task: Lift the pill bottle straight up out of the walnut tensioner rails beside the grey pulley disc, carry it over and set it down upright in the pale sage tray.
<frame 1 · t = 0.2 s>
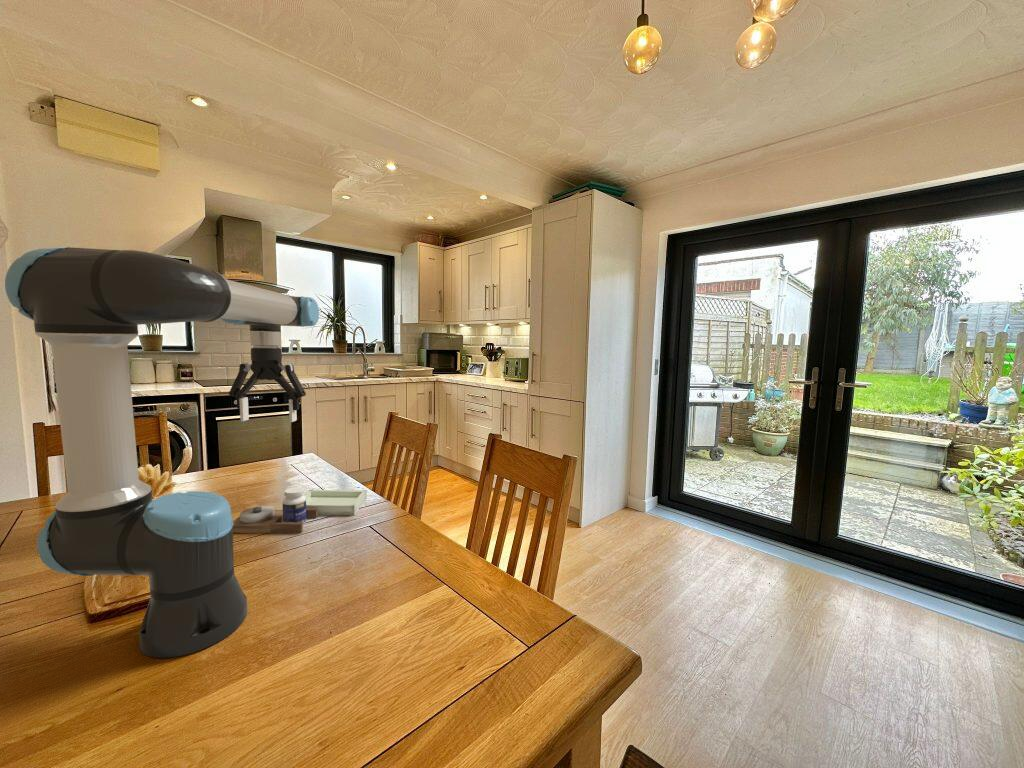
hand: (269, 420, 117), 27 cm above the table, fingers open, 13 cm apart
pill bottle: (295, 525, 112), on the table
tensioner: (295, 524, 112), on the table
tray: (330, 506, 124), on the table
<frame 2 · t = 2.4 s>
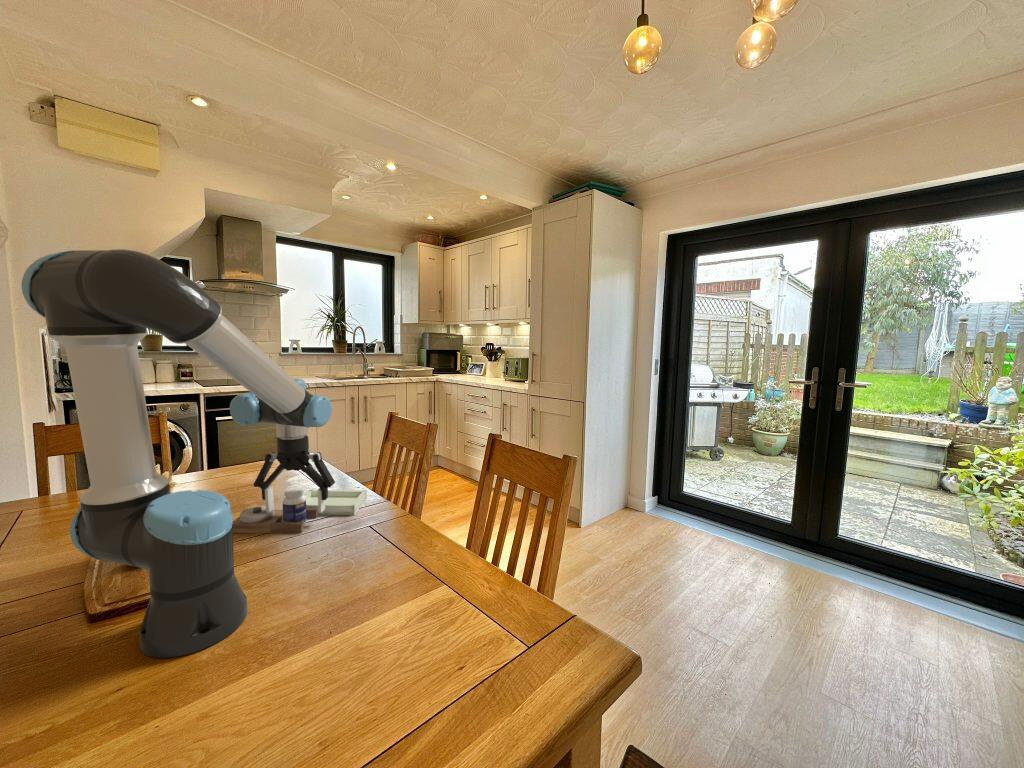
hand: (296, 511, 112), 4 cm above the table, fingers open, 13 cm apart
nothing on the table moved.
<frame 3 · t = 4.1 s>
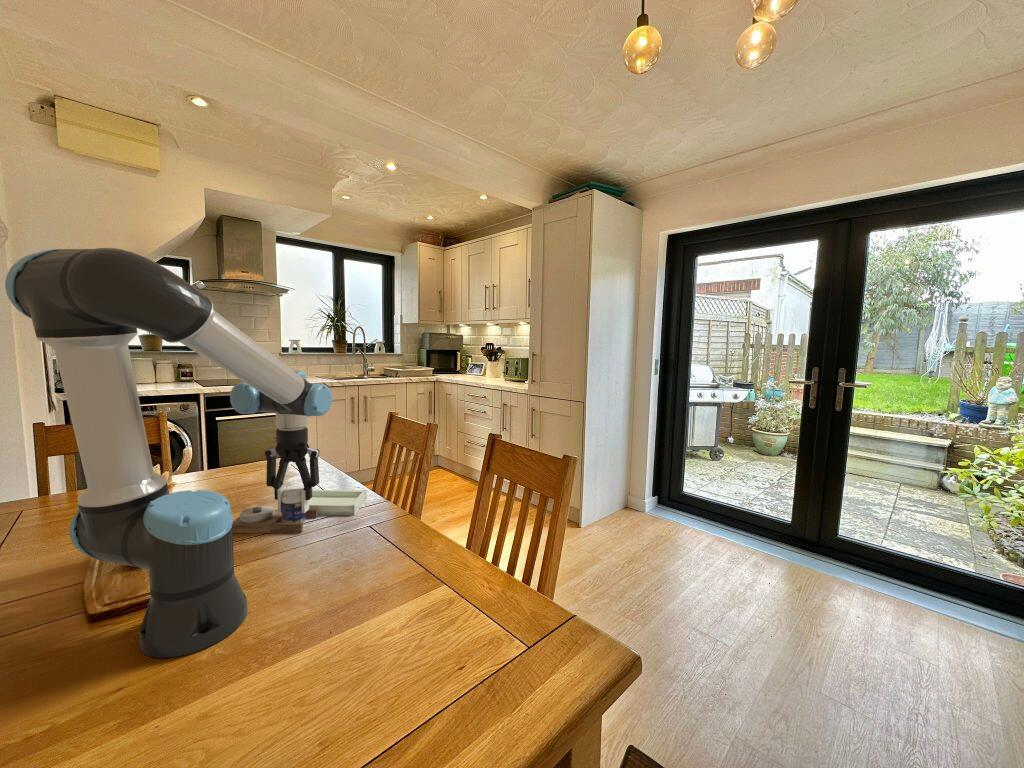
hand: (293, 510, 111), 4 cm above the table, fingers closed on pill bottle, 6 cm apart
pill bottle: (293, 524, 112), on the table, touching gripper
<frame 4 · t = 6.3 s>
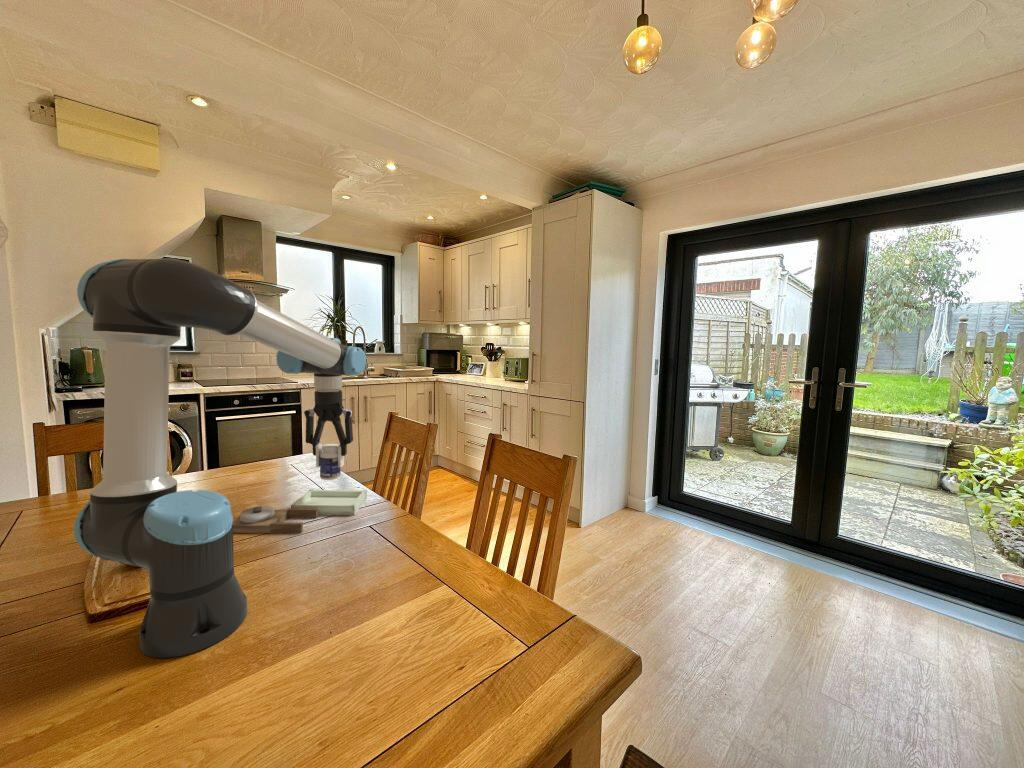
hand: (330, 465, 123), 13 cm above the table, fingers closed on pill bottle, 6 cm apart
pill bottle: (330, 478, 124), point 9 cm above the table, touching gripper
when the fingers open (4 cm above the table, at t = 8.3 s): pill bottle stays where it is, resting on tray.
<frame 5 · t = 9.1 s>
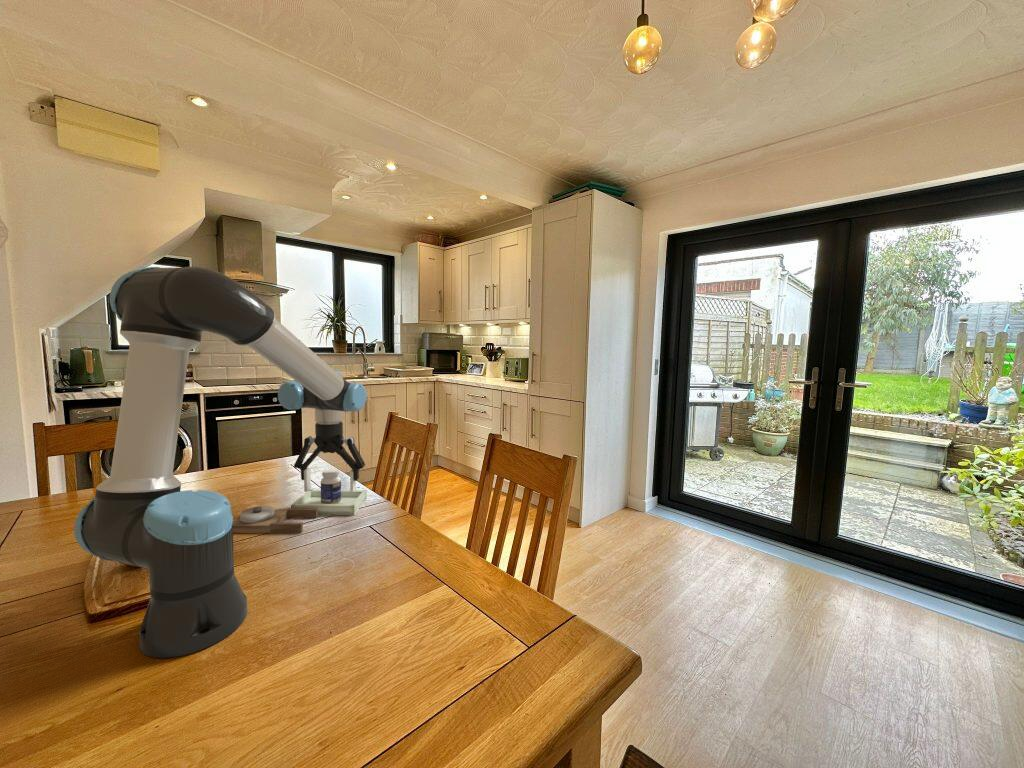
hand: (330, 490, 124), 5 cm above the table, fingers open, 13 cm apart
pill bottle: (331, 503, 125), point 1 cm above the table, touching tray
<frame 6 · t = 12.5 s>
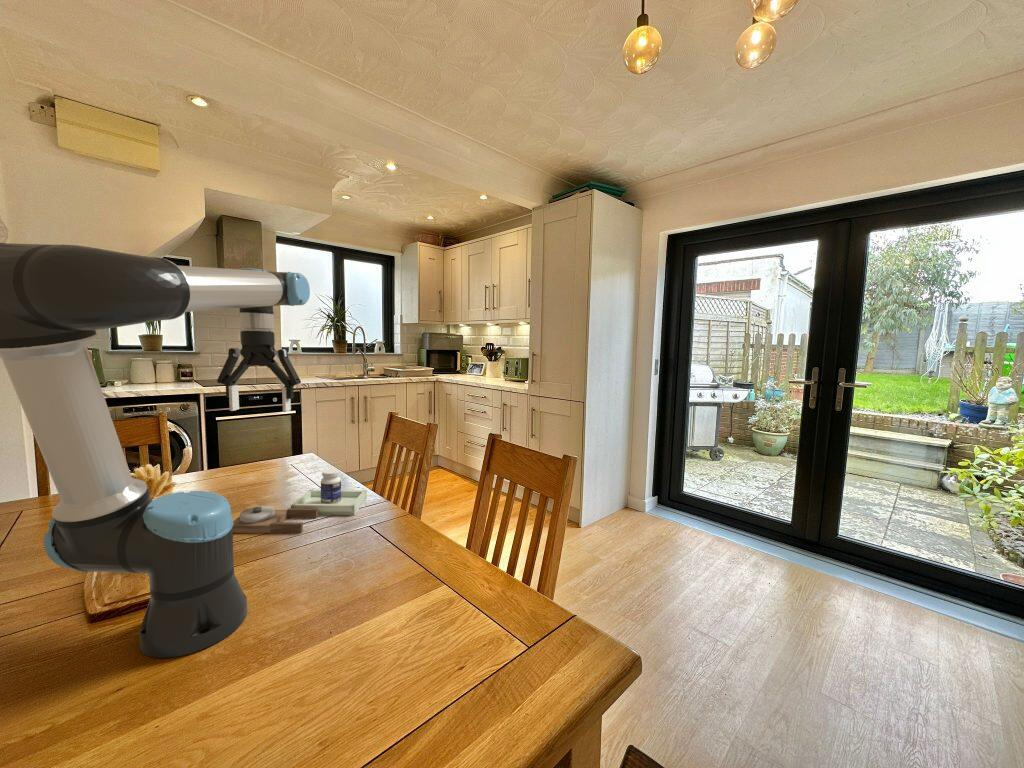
hand: (260, 410, 108), 32 cm above the table, fingers open, 13 cm apart
nothing on the table moved.
at the end: pill bottle inside the target area on the tray (0.4 cm from its centre), point 1.0 cm above the tray's base; pill bottle tilted 0°; the gripper is holding nothing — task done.
